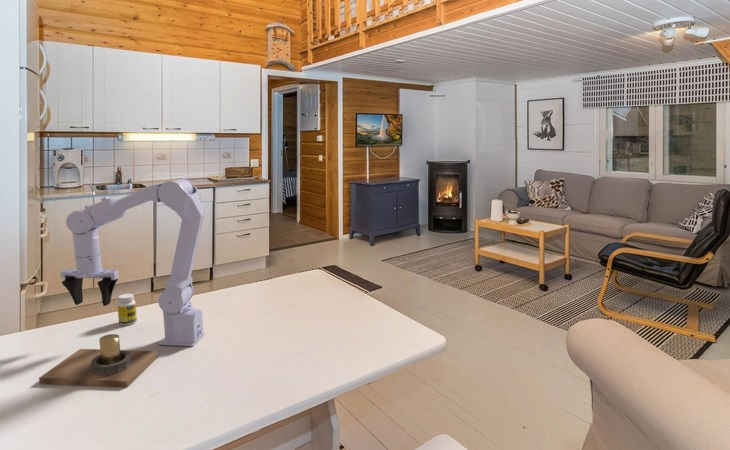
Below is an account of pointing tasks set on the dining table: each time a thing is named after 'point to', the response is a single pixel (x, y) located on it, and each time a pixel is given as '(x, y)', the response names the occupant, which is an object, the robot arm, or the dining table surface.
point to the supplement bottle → (127, 309)
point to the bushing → (110, 349)
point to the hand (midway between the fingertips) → (92, 304)
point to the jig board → (99, 369)
